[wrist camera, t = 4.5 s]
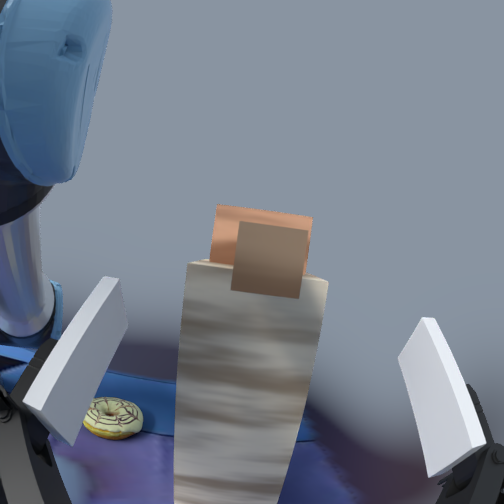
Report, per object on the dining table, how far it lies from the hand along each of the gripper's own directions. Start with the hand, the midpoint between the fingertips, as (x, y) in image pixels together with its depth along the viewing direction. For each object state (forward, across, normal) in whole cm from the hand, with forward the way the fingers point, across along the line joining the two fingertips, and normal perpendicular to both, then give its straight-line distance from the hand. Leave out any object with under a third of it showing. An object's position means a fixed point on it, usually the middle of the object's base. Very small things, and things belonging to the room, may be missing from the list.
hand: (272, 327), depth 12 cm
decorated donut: (+9, -20, -39) cm, 45 cm away
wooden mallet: (+11, 0, -5) cm, 12 cm away
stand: (+1, 0, -34) cm, 34 cm away
